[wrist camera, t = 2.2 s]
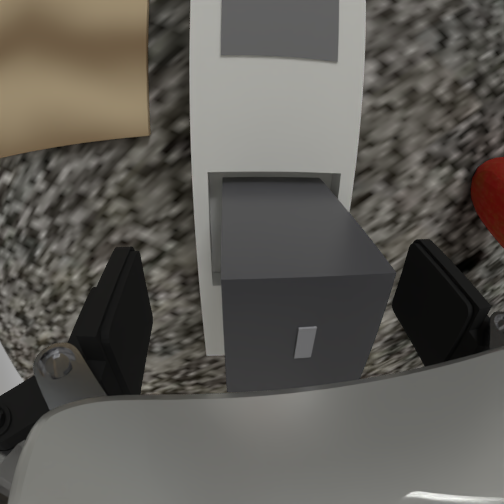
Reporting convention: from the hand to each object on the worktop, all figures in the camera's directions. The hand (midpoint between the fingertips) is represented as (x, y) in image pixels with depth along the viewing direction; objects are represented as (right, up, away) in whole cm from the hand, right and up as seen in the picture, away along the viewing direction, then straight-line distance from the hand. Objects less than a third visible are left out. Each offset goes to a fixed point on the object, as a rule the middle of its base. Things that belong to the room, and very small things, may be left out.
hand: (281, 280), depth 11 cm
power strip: (0, +13, +2) cm, 13 cm away
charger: (0, +2, +5) cm, 6 cm away
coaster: (-12, +12, +1) cm, 17 cm away
